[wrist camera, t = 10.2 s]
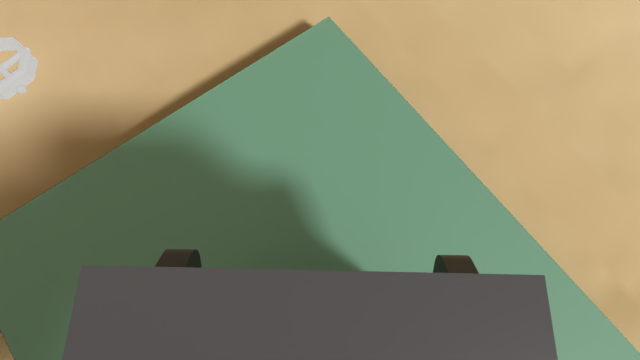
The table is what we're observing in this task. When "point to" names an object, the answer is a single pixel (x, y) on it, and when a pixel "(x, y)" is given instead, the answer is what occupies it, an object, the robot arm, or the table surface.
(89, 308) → the block
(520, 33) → the table surface
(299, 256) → the header board
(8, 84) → the key
